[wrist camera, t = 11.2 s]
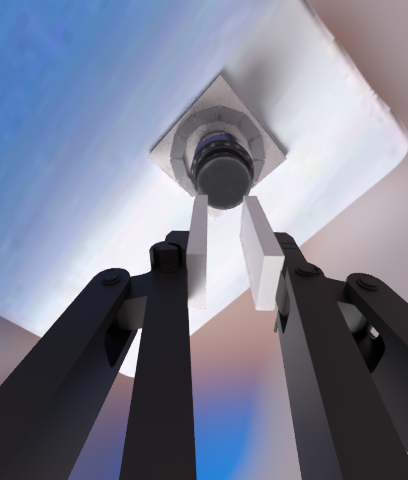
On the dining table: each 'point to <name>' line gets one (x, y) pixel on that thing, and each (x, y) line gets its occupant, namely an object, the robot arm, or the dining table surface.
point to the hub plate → (206, 122)
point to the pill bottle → (222, 170)
